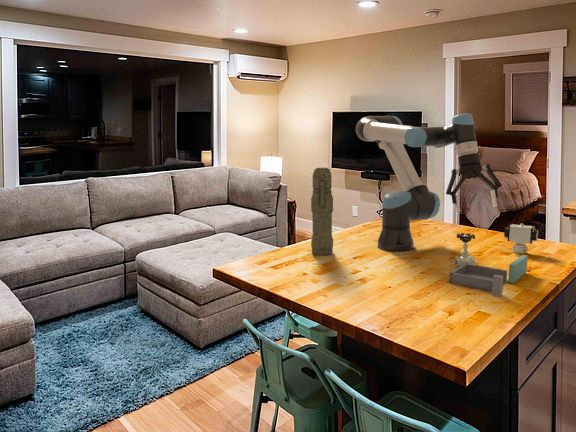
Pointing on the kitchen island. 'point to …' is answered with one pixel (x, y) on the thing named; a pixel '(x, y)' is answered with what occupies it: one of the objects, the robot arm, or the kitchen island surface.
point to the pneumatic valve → (520, 236)
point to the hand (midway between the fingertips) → (476, 209)
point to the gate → (517, 268)
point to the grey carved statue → (322, 212)
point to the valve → (464, 251)
